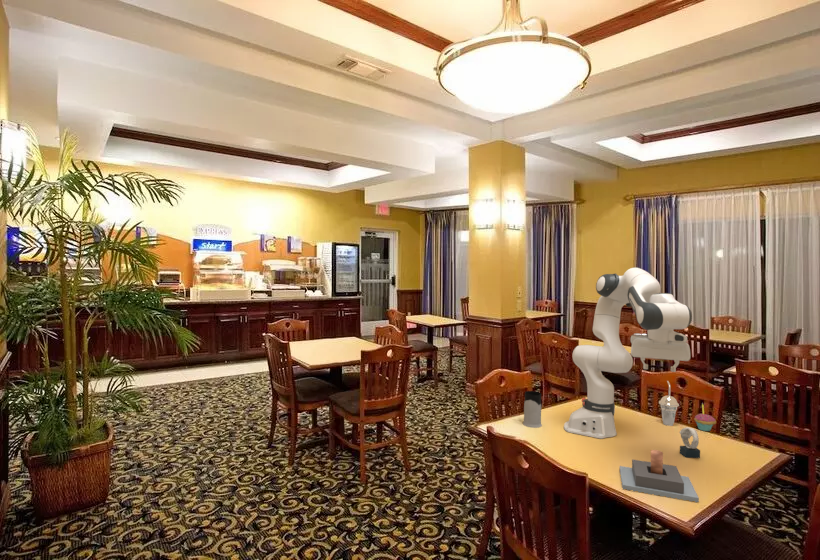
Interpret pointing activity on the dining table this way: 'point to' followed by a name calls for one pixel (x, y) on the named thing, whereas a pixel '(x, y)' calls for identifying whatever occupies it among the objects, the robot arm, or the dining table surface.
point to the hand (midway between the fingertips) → (659, 370)
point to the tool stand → (657, 481)
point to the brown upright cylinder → (657, 462)
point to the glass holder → (532, 409)
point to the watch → (688, 449)
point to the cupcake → (704, 421)
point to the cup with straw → (668, 408)
